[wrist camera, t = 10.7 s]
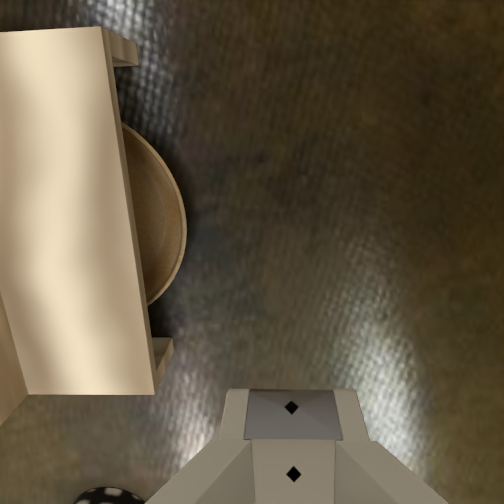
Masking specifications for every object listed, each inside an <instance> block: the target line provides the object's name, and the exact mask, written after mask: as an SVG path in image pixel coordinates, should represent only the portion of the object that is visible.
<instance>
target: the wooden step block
mask: <svg viewBox="0 0 504 504" xmlns="http://www.w3.org/2000/svg"><path fill="white" fill-rule="evenodd" d="M123 66H139V62H138V53H137V45H136V44H135V43H133V42H131V41H129V40H127V39H125V38H123V37H121V36H119V35H117V34H115V33H113V32H111V31H109V30H107V29H105V28H103V27H101V26H98V27H82V28H65V29H49V30H32V31H16V32H0V426H1V425H2V423H3V422H4V421H5V420H6V419H7V418H8V417H9V415H10V414H11V413H12V412H13V411H14V410H15V409H16V408H17V406H18V405H19V404H20V403H21V402H22V401H23V400H24V399H25V397H26V396H27V395H28V394H96V395H155V393H156V391H157V388H158V386H159V384H160V382H161V379H162V377H163V375H164V372H165V370H166V368H167V365H168V363H169V361H170V358H171V356H172V354H173V352H174V347H173V339H172V337H167V338H152V337H151V330H150V323H149V316H148V309H147V302H146V295H145V288H144V281H143V274H142V267H141V260H140V253H139V246H138V238H137V231H136V224H135V217H134V210H133V203H132V196H131V189H130V182H129V175H128V168H127V161H126V154H125V147H124V140H123V133H122V126H121V119H120V112H119V105H118V98H117V91H116V84H115V77H114V70H113V67H123Z"/></svg>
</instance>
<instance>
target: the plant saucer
mask: <svg viewBox="0 0 504 504" xmlns="http://www.w3.org/2000/svg"><path fill="white" fill-rule="evenodd" d="M121 126H122V133H123V140H124V147H125V154H126V161H127V168H128V175H129V182H130V189H131V196H132V203H133V210H134V217H135V224H136V231H137V238H138V246H139V253H140V260H141V267H142V274H143V281H144V288H145V295H146V302H147V306H148V305H150V304H151V303H152V302H154V301H155V300H156V299H157V298H158V297H159V296H160V295H161V294H162V293H163V292H164V291H165V290H166V289H167V287H168V286H169V285H170V283H171V282H172V281H173V279H174V278H175V276H176V273H177V271H178V269H179V267H180V265H181V262H182V259H183V255H184V251H185V245H186V236H187V225H186V215H185V209H184V204H183V200H182V197H181V194H180V191H179V189H178V186H177V184H176V182H175V180H174V178H173V176H172V174H171V172H170V170H169V169H168V167H167V165H166V164H165V162H164V161H163V159H162V158H161V157H160V156H159V154H158V153H157V152H156V151H155V149H154V148H153V147H152V146H151V145H150V144H149V143H148V142H147V141H146V140H145V139H144V138H143V137H141V136H140V135H139V134H138V133H137V132H135V131H134V130H133V129H131V128H130V127H129V126H127V125H126V124H124V123H123V122H121Z"/></svg>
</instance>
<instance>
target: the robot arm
mask: <svg viewBox="0 0 504 504" xmlns="http://www.w3.org/2000/svg"><path fill="white" fill-rule="evenodd" d="M145 504H449V503H448V502H446V501H445V500H444V499H443V498H442V497H441V496H439V495H438V494H437V493H436V492H435V491H434V490H433V489H431V488H430V487H429V486H428V485H427V484H426V483H424V482H423V481H422V480H421V479H420V478H419V477H418V476H416V475H415V474H414V473H413V472H412V471H411V470H409V469H408V468H407V467H406V466H405V465H404V464H403V463H401V462H400V461H399V460H398V459H397V458H396V457H394V456H393V455H392V454H391V453H390V452H389V451H388V450H386V449H385V448H384V447H383V446H382V445H381V444H379V443H378V442H377V441H370V439H369V436H368V432H367V429H366V425H365V422H364V418H363V415H362V411H361V408H360V404H359V401H358V397H357V394H356V391H355V390H354V389H353V388H352V389H332V390H280V389H250V390H249V389H229V390H228V392H227V396H226V401H225V407H224V412H223V417H222V423H221V428H220V433H219V439H218V440H211V441H210V442H209V443H208V444H207V445H206V446H205V447H204V448H203V449H202V450H201V451H200V452H199V453H197V454H196V455H195V456H194V457H193V458H192V459H191V460H190V461H189V462H188V463H187V464H186V465H185V466H184V467H183V468H182V469H181V470H180V471H179V472H177V473H176V474H175V475H174V476H173V477H172V478H171V479H170V480H169V481H168V482H167V483H166V484H165V485H164V486H163V487H162V488H161V489H160V490H159V491H158V492H156V493H155V494H154V495H153V496H152V497H151V498H150V499H149V500H148V501H147V502H146V503H145Z"/></svg>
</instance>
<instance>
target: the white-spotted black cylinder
mask: <svg viewBox="0 0 504 504" xmlns="http://www.w3.org/2000/svg"><path fill="white" fill-rule="evenodd" d="M73 504H145V502H144V501H142V500H141V499H140V498H138V497H137V496H135V495H133V494H131V493H129V492H126V491H124V490H120V489H115V488H96V489H92V490H89V491H87V492H85V493H83V494H81V495H80V496H79V497H78V498H77V499H76V500H75V502H74V503H73Z"/></svg>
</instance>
